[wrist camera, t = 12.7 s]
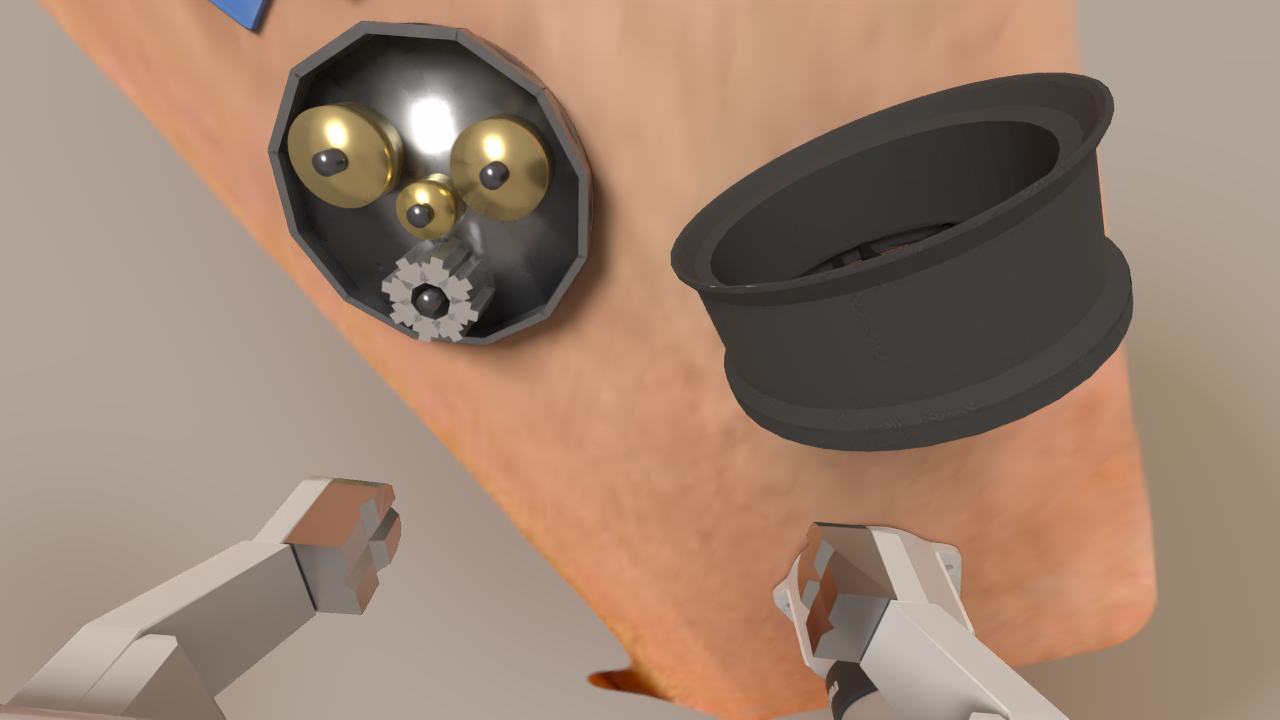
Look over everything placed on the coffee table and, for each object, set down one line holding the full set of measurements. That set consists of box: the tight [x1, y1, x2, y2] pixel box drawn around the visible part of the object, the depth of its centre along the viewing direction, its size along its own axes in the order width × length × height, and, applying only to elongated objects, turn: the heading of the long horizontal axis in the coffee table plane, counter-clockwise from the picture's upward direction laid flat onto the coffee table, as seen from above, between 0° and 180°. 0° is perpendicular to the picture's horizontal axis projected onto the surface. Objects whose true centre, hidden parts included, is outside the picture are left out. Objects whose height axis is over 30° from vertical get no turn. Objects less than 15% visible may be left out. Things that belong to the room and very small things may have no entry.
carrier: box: [268, 21, 594, 345], centre depth 37 cm, size 21×21×6 cm
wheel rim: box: [671, 73, 1133, 452], centre depth 29 cm, size 20×9×20 cm, turn 117°
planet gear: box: [382, 237, 495, 343], centre depth 39 cm, size 7×7×4 cm
